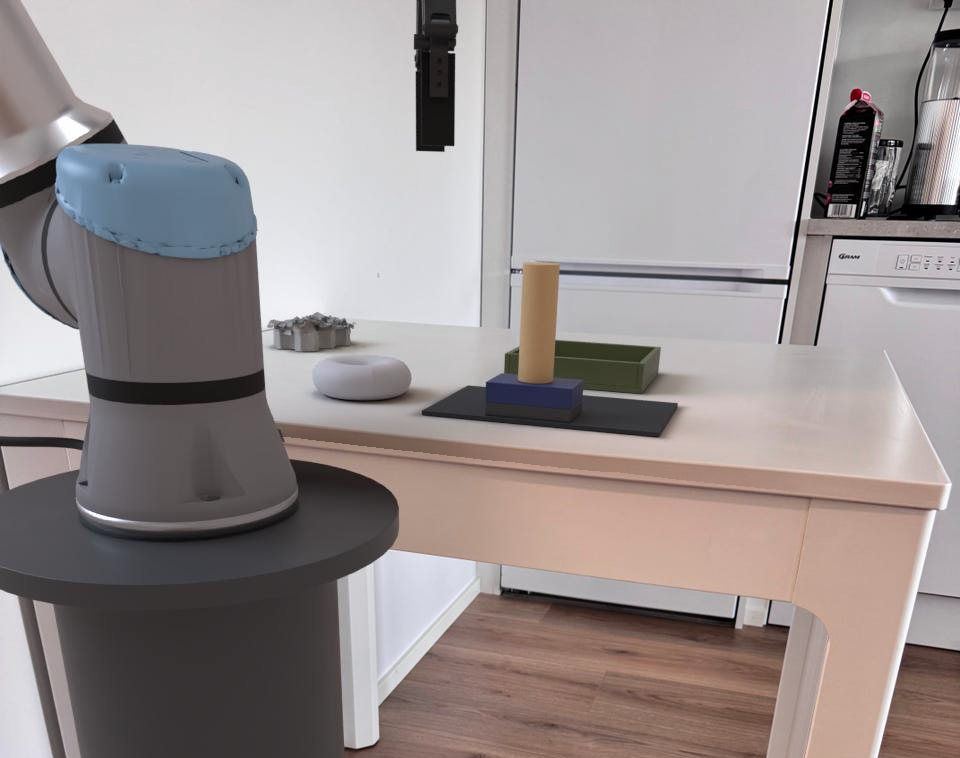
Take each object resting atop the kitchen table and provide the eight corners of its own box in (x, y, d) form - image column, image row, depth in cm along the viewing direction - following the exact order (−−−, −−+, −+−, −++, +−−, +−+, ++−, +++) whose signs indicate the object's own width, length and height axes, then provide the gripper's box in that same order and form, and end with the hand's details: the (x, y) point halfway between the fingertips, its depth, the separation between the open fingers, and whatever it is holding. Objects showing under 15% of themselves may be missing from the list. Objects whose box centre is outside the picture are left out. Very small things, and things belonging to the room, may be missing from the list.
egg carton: (305, 354, 119) (304, 319, 117) (263, 347, 123) (260, 314, 121) (361, 344, 127) (360, 312, 125) (319, 338, 131) (318, 307, 129)
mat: (421, 414, 88) (421, 410, 88) (467, 389, 100) (467, 385, 100) (658, 437, 82) (659, 432, 82) (677, 406, 94) (677, 402, 94)
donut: (378, 383, 103) (294, 389, 97) (378, 350, 101) (293, 354, 96) (430, 398, 96) (344, 407, 90) (431, 363, 94) (343, 369, 89)
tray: (503, 382, 104) (504, 353, 103) (533, 364, 116) (534, 338, 114) (641, 393, 100) (644, 363, 99) (658, 374, 112) (661, 346, 110)
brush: (484, 415, 87) (489, 262, 81) (499, 405, 91) (505, 259, 86) (570, 423, 85) (580, 267, 79) (581, 412, 89) (592, 263, 83)
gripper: (498, -210, 64) (490, 144, 73) (468, -107, 86) (464, 154, 96) (387, -218, 63) (392, 141, 72) (386, -112, 86) (390, 152, 95)
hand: (433, 149), depth 84 cm, fingers open, 13 cm apart
